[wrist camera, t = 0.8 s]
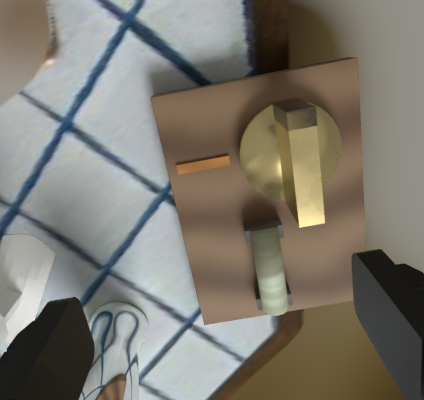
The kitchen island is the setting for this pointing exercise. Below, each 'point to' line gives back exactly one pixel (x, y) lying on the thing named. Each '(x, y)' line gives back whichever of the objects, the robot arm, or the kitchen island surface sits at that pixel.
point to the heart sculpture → (21, 282)
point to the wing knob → (292, 156)
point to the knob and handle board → (257, 202)
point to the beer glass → (115, 352)
